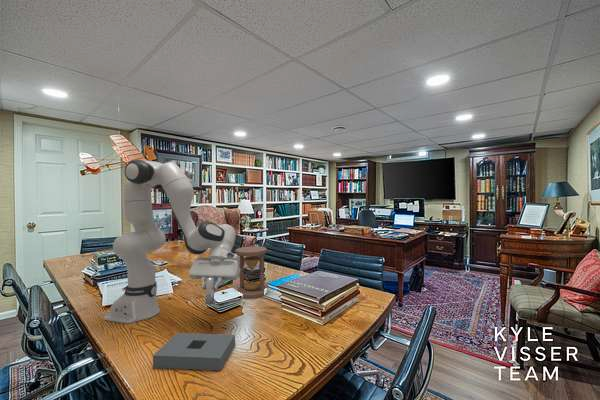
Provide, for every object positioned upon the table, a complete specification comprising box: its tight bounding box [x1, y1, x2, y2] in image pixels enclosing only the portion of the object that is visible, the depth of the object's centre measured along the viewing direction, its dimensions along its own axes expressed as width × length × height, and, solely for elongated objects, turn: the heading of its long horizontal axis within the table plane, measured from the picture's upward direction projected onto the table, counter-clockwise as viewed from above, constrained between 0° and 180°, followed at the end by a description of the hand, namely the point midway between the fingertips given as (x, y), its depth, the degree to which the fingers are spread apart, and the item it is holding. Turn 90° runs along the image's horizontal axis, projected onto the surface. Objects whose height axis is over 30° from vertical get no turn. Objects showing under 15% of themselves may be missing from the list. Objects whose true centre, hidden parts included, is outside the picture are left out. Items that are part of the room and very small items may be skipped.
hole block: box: [152, 332, 236, 372], centre depth 89 cm, size 22×14×4 cm, turn 85°
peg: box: [205, 277, 215, 306], centre depth 103 cm, size 3×3×10 cm
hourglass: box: [234, 245, 268, 300], centre depth 149 cm, size 18×18×25 cm
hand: (209, 288), depth 103 cm, fingers closed on peg, 3 cm apart
